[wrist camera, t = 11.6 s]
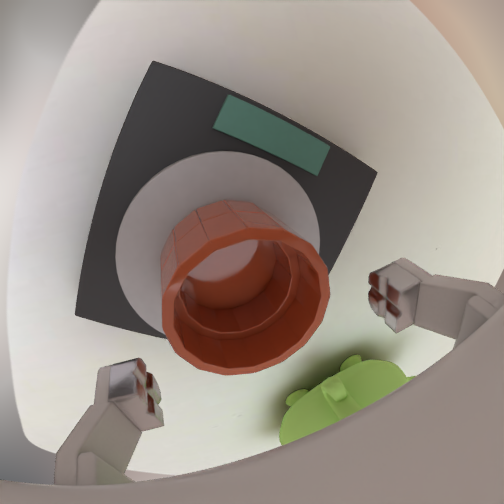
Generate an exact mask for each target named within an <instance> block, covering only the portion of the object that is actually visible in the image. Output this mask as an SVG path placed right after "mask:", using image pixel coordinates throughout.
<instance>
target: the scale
mask: <svg viewBox="0 0 504 504" xmlns="http://www.w3.org/2000/svg"><path fill="white" fill-rule="evenodd" d="M376 175H377V171H375V170H374V169H372V168H371V167H369V166H368V165H366V164H365V163H363V162H362V161H360V160H359V159H357V158H356V157H354V156H352V155H351V154H349V153H348V152H346V151H345V150H343V149H341V148H340V147H338V146H336V145H335V144H333V143H331V142H330V141H328V140H326V139H325V138H323V137H321V136H320V135H318V134H316V133H314V132H313V131H311V130H309V129H307V128H306V127H304V126H302V125H300V124H298V123H297V122H295V121H293V120H291V119H289V118H287V117H285V116H283V115H281V114H280V113H278V112H276V111H274V110H272V109H270V108H268V107H266V106H264V105H262V104H259V103H257V102H255V101H253V100H251V99H249V98H247V97H245V96H242V95H240V94H238V93H236V92H234V91H231V90H229V89H227V88H224V87H222V86H220V85H217V84H215V83H213V82H210V81H208V80H205V79H203V78H200V77H198V76H195V75H192V74H190V73H187V72H184V71H182V70H179V69H176V68H173V67H171V66H168V65H165V64H162V63H159V62H156V61H152V63H151V65H150V67H149V69H148V71H147V73H146V75H145V77H144V79H143V81H142V83H141V85H140V87H139V89H138V91H137V94H136V96H135V98H134V100H133V103H132V105H131V107H130V110H129V112H128V114H127V117H126V119H125V122H124V124H123V127H122V129H121V132H120V134H119V137H118V140H117V142H116V145H115V148H114V150H113V153H112V156H111V159H110V162H109V165H108V168H107V171H106V174H105V177H104V180H103V184H102V187H101V190H100V194H99V197H98V201H97V204H96V208H95V212H94V216H93V220H92V224H91V228H90V232H89V236H88V241H87V245H86V250H85V255H84V260H83V265H82V270H81V276H80V282H79V288H78V295H77V302H76V309H75V315H76V316H79V317H82V318H86V319H89V320H93V321H96V322H100V323H103V324H107V325H111V326H114V327H118V328H122V329H126V330H130V331H134V332H138V333H142V334H147V335H151V336H155V337H160V338H165V339H167V337H166V335H165V333H164V331H163V328H162V319H161V297H160V255H161V251H162V249H163V247H164V245H165V243H166V241H167V239H168V237H169V235H170V233H171V231H172V229H174V227H175V226H176V225H177V224H178V223H179V222H181V221H182V220H183V219H184V218H185V217H186V216H188V215H189V214H190V213H191V212H192V211H194V210H196V209H197V208H200V207H203V206H206V205H209V204H212V203H215V202H218V201H221V200H222V201H223V200H233V201H246V202H251V203H254V204H256V205H258V206H260V207H261V208H263V209H265V210H267V211H269V212H270V213H272V214H274V215H275V216H276V217H278V218H279V219H280V220H281V221H283V222H284V223H285V224H287V225H288V226H289V227H291V228H292V229H293V230H294V231H296V232H297V233H298V234H299V235H301V236H302V237H303V238H305V239H306V240H307V241H308V242H310V243H311V244H312V245H313V246H314V248H315V249H316V251H317V252H318V254H319V256H320V257H321V259H322V260H323V262H324V263H325V265H326V266H327V269H328V275H329V273H330V271H331V269H332V268H333V266H334V264H335V262H336V260H337V258H338V256H339V254H340V252H341V250H342V248H343V246H344V244H345V242H346V240H347V238H348V236H349V234H350V232H351V230H352V228H353V226H354V223H355V221H356V219H357V217H358V215H359V213H360V211H361V209H362V206H363V204H364V202H365V200H366V198H367V196H368V193H369V191H370V189H371V187H372V184H373V182H374V180H375V178H376Z"/></svg>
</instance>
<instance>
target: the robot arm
mask: <svg viewBox="0 0 504 504" xmlns="http://www.w3.org/2000/svg"><path fill="white" fill-rule="evenodd" d="M368 283H369V284H370V285H371V286H372V287H371V289H370V291H369V293H368V297H369V303H370V306H371V308H372V310H373V311H374V313H375V314H376V315H377V316H380V317H384V318H385V323H386V324H387V325H388V326H389V327H390V328H391V329H392V330H393V331H394V332H395V333H398V332H400V331H402V330H403V329H405V328H407V327H409V326H411V325H412V324H414V325H416V326H419V327H422V328H424V329H427V330H430V331H433V332H436V333H439V334H442V335H444V336H447V337H450V338H453V339H456V341H455V344H454V347H453V350H452V351H450V352H449V353H448V354H446V355H445V356H444V357H442V358H441V359H440V360H438V361H437V362H436V363H434V364H433V365H432V366H430V367H429V368H427V369H426V370H425V371H423V372H422V373H420V374H419V375H417V376H416V377H414V378H413V379H411V380H410V381H408V382H407V383H405V384H404V385H402V386H400V387H399V388H397V389H396V390H394V391H392V392H391V393H389V394H387V395H386V396H384V397H382V398H381V399H379V400H377V401H375V402H374V403H372V404H370V405H368V406H367V407H365V408H363V409H361V410H359V411H357V412H355V413H353V414H352V415H350V416H348V417H346V418H344V419H342V420H340V421H338V422H336V423H334V424H331V425H329V426H327V427H325V428H323V429H321V430H318V431H316V432H314V433H312V434H309V435H307V436H305V437H302V438H300V439H298V440H295V441H293V442H290V443H288V444H285V445H282V446H280V447H277V448H274V449H272V450H269V451H266V452H263V453H260V454H257V455H254V456H251V457H248V458H245V459H242V460H238V461H235V462H231V463H228V464H224V465H221V466H217V467H213V468H209V469H205V470H201V471H196V472H192V473H187V474H182V475H177V476H172V477H166V478H160V479H154V480H147V481H140V482H135V481H133V480H132V479H130V478H129V477H127V476H126V475H124V473H125V471H126V469H127V466H128V464H129V462H130V459H131V457H132V455H133V452H134V450H135V448H136V445H137V443H138V441H139V438H140V436H141V434H142V432H141V431H146V430H150V429H154V428H158V427H162V426H164V420H163V411H162V409H161V408H160V406H159V405H158V404H159V403H160V401H161V392H160V389H159V386H158V383H157V381H156V379H155V378H154V376H153V375H152V374H151V373H149V372H146V365H145V363H144V362H143V360H142V359H141V358H136V359H132V360H128V361H124V362H120V363H116V364H113V365H109V366H105V367H101V368H100V369H99V370H98V375H97V382H96V390H95V399H94V405H90V407H89V408H88V409H87V411H86V412H85V413H84V415H83V416H82V418H81V419H80V420H79V422H78V423H77V425H76V426H75V427H74V429H73V430H72V432H71V433H70V434H69V436H68V437H67V439H66V440H65V442H64V443H63V444H62V446H61V447H60V449H59V450H58V452H57V453H56V461H55V474H54V485H44V484H31V483H21V482H13V481H6V480H0V504H504V293H502V292H501V291H499V290H498V289H496V288H495V287H493V286H492V285H490V284H489V283H485V282H479V281H473V280H467V279H460V278H454V277H448V276H442V275H436V274H435V275H433V276H432V275H430V274H429V273H427V272H426V271H424V270H423V269H421V268H420V267H418V266H417V265H415V264H414V263H412V262H411V261H409V260H408V259H406V258H400V259H398V260H396V261H394V262H392V263H391V264H388V265H386V266H384V267H382V268H380V269H377V270H375V271H373V272H371V273H370V274H369V281H368Z"/></svg>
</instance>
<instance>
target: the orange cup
mask: <svg viewBox="0 0 504 504" xmlns="http://www.w3.org/2000/svg"><path fill="white" fill-rule="evenodd" d="M160 297H161V319H162V328H163V331H164V333H165V335H166V337H167V339H168V340H169V342H170V344H171V346H172V348H173V349H174V351H175V353H176V354H177V355H179V356H180V357H182V358H183V359H184V360H186V361H187V362H189V363H190V364H192V365H193V366H195V367H196V368H197V369H200V370H204V371H208V372H212V373H217V374H221V375H238V374H249V373H254V372H255V373H256V372H258V371H261V370H263V369H266V368H269V367H271V366H274V365H276V364H279V363H281V362H283V361H284V360H286V359H287V358H288V357H290V356H291V355H292V354H294V353H295V352H296V351H298V350H299V349H300V348H301V347H303V346H304V345H305V344H306V343H307V342H308V340H309V339H310V338H311V336H312V335H313V333H314V332H315V331H316V329H317V328H318V327H319V325H320V324H321V322H322V320H323V317H324V314H325V311H326V308H327V305H328V301H329V298H330V287H329V277H328V269H327V266H326V265H325V263H324V262H323V260H322V259H321V257H320V256H319V254H318V252H317V251H316V249H315V248H314V246H313V245H312V244H311V243H310V242H308V241H307V240H306V239H305V238H303V237H302V236H301V235H299V234H298V233H297V232H296V231H294V230H293V229H292V228H291V227H289V226H288V225H287V224H285V223H284V222H283V221H281V220H280V219H279V218H278V217H276V216H275V215H274V214H272V213H270V212H269V211H267V210H265V209H263V208H261V207H260V206H258V205H256V204H254V203H251V202H246V201H233V200H223V201H222V200H221V201H218V202H215V203H212V204H209V205H206V206H203V207H200V208H197V209H196V210H194V211H192V212H191V213H190V214H189V215H188V216H186V217H185V218H184V219H183V220H182V221H181V222H179V223H178V224H177V225H176V226H175V227H174V229H172V231H171V233H170V235H169V237H168V239H167V241H166V243H165V245H164V247H163V249H162V251H161V255H160Z"/></svg>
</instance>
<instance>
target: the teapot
mask: <svg viewBox="0 0 504 504" xmlns="http://www.w3.org/2000/svg"><path fill="white" fill-rule="evenodd" d="M414 377H416V376H412V377H406V376H405V374H404V373H403V371H402V370H401V369H400V368H399V367H398V366H397V365H395V364H394V363H392V362H388V361H382V360H366V361H363V362H362V361H361V356H360V355H353V356H350V357H349V358H347V359H346V360H345V361H344V362H343V363H342V365H341V367H340V372H339V373H337V374H335V375H333V376H332V377H329V378H327V379H326V380H325V381H324V382H322V383H321V384H319V385H317V386H316V387H315V388H313V389H312V390H311V391H308V390H306V389H300V390H297V391H295V392H293V393H291V394H290V395H289V396H288V397H287V399H286V404H287V405H289V406H290V408H289V410H288V411H287V412H286V414H285V415H284V418H283V421H282V424H281V427H280V432H279V438H280V442H281V445H285V444H288V443H290V442H293V441H295V440H298V439H300V438H302V437H305V436H307V435H309V434H312V433H314V432H316V431H318V430H321V429H323V428H325V427H327V426H329V425H331V424H334V423H336V422H338V421H340V420H342V419H344V418H346V417H348V416H350V415H352V414H353V413H355V412H357V411H359V410H361V409H363V408H365V407H367V406H368V405H370V404H372V403H374V402H375V401H377V400H379V399H381V398H382V397H384V396H386V395H387V394H389V393H391V392H392V391H394V390H396V389H397V388H399V387H400V386H402V385H404V384H405V383H407V382H408V381H410V380H411V379H413V378H414Z"/></svg>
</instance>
